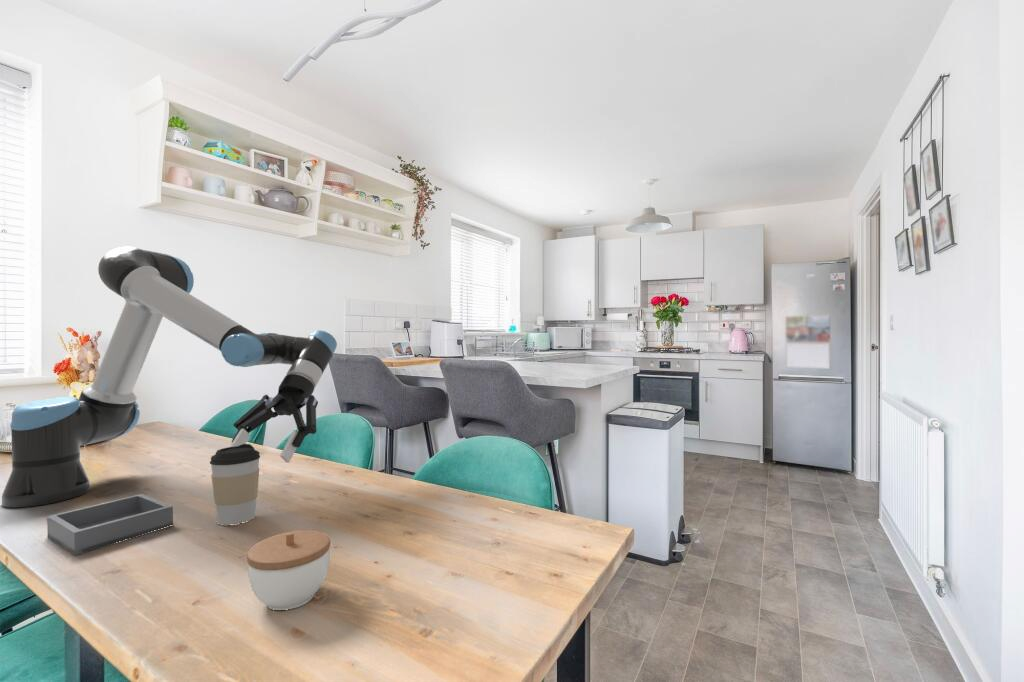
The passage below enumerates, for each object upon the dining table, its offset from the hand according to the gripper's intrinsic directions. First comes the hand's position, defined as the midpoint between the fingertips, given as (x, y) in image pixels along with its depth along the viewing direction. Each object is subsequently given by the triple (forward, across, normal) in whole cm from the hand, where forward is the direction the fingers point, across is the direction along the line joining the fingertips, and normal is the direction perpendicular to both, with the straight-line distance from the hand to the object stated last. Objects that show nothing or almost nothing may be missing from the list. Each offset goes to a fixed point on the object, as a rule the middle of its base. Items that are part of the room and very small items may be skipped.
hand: (257, 458), depth 102 cm
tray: (+18, +21, +2) cm, 28 cm away
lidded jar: (+29, -30, +12) cm, 44 cm away
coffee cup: (+12, +1, -5) cm, 13 cm away
